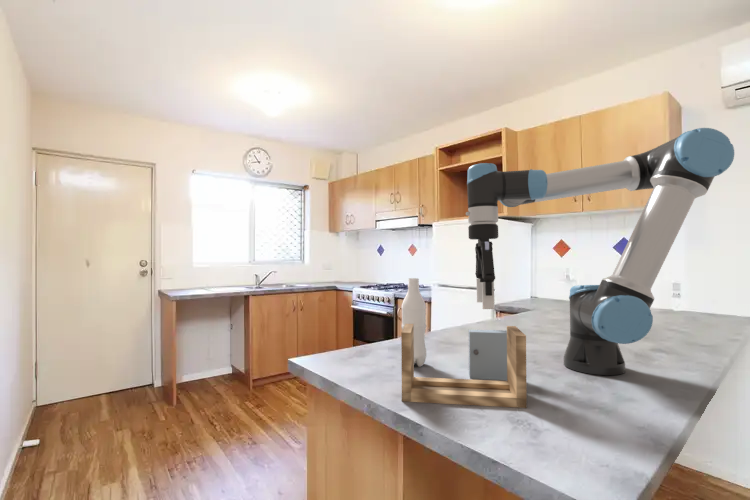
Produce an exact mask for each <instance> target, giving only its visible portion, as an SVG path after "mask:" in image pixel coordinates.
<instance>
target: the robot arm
mask: <svg viewBox="0 0 750 500" xmlns="http://www.w3.org/2000/svg"><path fill="white" fill-rule="evenodd" d="M734 159H735V148H734V145H733V144H732V143H731V141H730V138H729V137H728V136H727V135H726V134H725V133H724V132H722V131H720V130H717V129H715V128H712V127H699V128H694V129H691V130H687V131H684V132H683V133H682V134H680V135H679V136H677V137H675V138H673V139H671V140H669V141H667V142H664V143H663V144H661V145H658V146H656V147H654V148H651V149H650V150H647V151H644V152H642V153H638V154H635V155H629V156H626V157H625V158H624V159H623V160H622V161H615V162H609V163H603V164H597V165H593V166H592V165H591V166H585V167H581V168H579V167H578V168H573V169H568V170H562V171H556V172H549V173H546V171H545V170H543V169H532V168H530V169H523V170H510V171H508V170H507V171H498V168H497V165H496V164H494V163H491V162H490V163H487V162H485V163H484V162H483V163H482V162H480V163H477V164H473V165H471V166H468V169H467V177H466V178H467V181H466V187H467V188H466V189H467V211H466V212H465V216H468V217H467V218H468V223H469V224H470V225H469V226H467V228H468V230H467V231H468V239H469V240H473V241H474V240H477V242H476V244H475V248H474V251H475V277H476V303H482V309H483V310H495V282H494V281H495V280H496V275H495V266H494V265H495V264H494V253H493V242H492V241H491V240H497V239H498V238H499V225H498V224H497V223H498V222H499V206H498V203H501V204H502V205H503V206H505V207H506V208H515V207H518V206H520V205H529V204H533V203H541V202H545V201H552V200H558V199H564V198H570V197H571V198H572V197H579V196H584V195H590V194H597V193H604V192H610V191H614V190H615V191H616V190H617V191H618V190H623V189H626V190H628V191H630V192H632V191H633V192H635V191H639V190H650V189H651V190H652V191H651V193H650V195H649V197H648V199H647V201H646V203H645V205H644V208H643V210H642V212H641V214H640V216H639V218H638V220H637V222H636V224H635V226H634V228H633V231H632V232H631V235H630V236H629V239H628V241H627V244H626V245H625V247H624V249H623V252H622V254H621V256H620V258H619V259H618V262H617V264H616V266H615V268H614V269H613V272H612V274H611V275H610V276H606V277H605V278H602V279H601V282H600V283H599V284H585V285H582V284H581V285H579V284H578V285H574V286H573V285H572V286H571V287H570V290H569V296H568V299H569V341H568V342H567V346H566V349H565V352H564V354H563V366H564V367H566V368H567V369H570V370H573V371H577V372H579V373H584V374H590V375H597V376H618V375H623V374H624V373H626V362H625V359H624V357H623V353H622V351H621V349H620V346H619V344H620V345H621V344H622V345H626V344H627V345H629V344H633V343H636V342H639V341H640V340H642V339H643V338H645V337H646V336H647V335H648V333H650V332H651V329H652V327H653V322H654V317H653V313H652V310H651V307H652V305H653V303H654V301H655V296H654V295H653V292H652V291H651V290H652V287H653V285H654V283H655V281H656V279H657V277H658V275H659V273H660V271H661V269H662V267H663V265H664V263H665V261H666V259H667V256H668V255H669V252H670V251H671V249H672V247H673V244H674V242H675V240H676V239H677V236H678V234H679V232H680V230H681V227H682V225H684V222H685V219H686V218H687V216H688V213H689V212H690V209H691V207H692V205H693V203H694V202H695V199H697V198H699V197H702V196H705V195H706V194H707V193H708V191H709V188H710V187H711V185H712V183H713V180H714V178H715V177H717V176H720V175H721V174H723V173H725V172H726V171H727V170H728V169H729V168H730V167H731V165H732V164H733V161H734Z"/></svg>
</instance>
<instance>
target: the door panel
mask: <svg viewBox="0 0 750 500" xmlns="http://www.w3.org/2000/svg"><path fill="white" fill-rule="evenodd" d="M468 376H469V379H471V380H494V381H507V329H504V330H503V329H468Z"/></svg>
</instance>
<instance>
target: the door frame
mask: <svg viewBox="0 0 750 500" xmlns="http://www.w3.org/2000/svg"><path fill="white" fill-rule="evenodd" d="M506 330H507V380H489V379H470V378H469V379H468V378H467V379H466V378H465V379H464V378H444V377H442V378H441V377H425V376H424V377H423V376H422V377H421V376H415V368H414V365H415V364H414V324H405V326H404V328H403V330H402V329H401V335H400V336H401V402H406V403H407V402H408V403H422V404H423V403H424V404H425V403H427V404H441V405H442V404H445V405H461V406H462V405H465V406H481V407H500V408H501V407H502V408H503V407H504V408H515V409H516V408H519V409H520V408H521V409H527V407H528V406H527V403H528V402H527V401H528V400H527V399H528V398H527V393H528V392H527V390H528V389H527V335H526V334H525V333H524V332H522V330H520V328H518V327H517V325H506Z"/></svg>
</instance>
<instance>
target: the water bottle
mask: <svg viewBox="0 0 750 500" xmlns="http://www.w3.org/2000/svg"><path fill="white" fill-rule="evenodd" d="M419 280H420V279H419V278H418V277H417V278H416V277H411V278H408V284H407V292H406V295H405V296H404V298H403V301H402V303H401V307H400V308H401V331H402V330H403V328H404V326H405V324H414V365H415V364H416V366H417V367H419V368H420V367H423V365H424V364H425V361H426V359H427V348H426V341H425V340H426V339H425V338H426V337H425V335H426V330H427V329H426V328H427V319H426V315H427V312H426V311H427V304H426V301H425V300H424V298H423V296H422V294H421V292H420V287H421V286H420V281H419Z"/></svg>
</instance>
